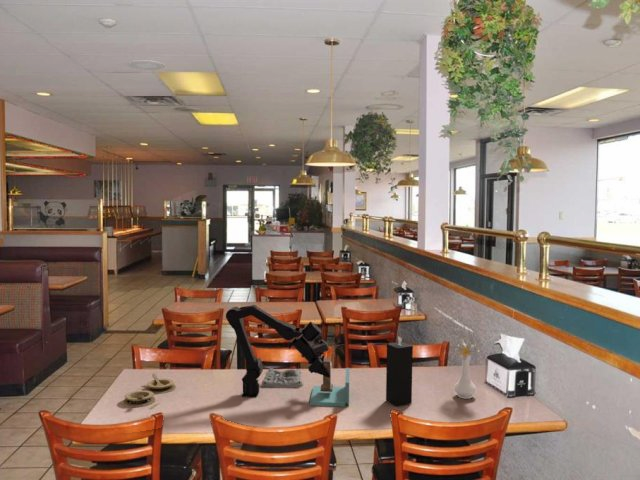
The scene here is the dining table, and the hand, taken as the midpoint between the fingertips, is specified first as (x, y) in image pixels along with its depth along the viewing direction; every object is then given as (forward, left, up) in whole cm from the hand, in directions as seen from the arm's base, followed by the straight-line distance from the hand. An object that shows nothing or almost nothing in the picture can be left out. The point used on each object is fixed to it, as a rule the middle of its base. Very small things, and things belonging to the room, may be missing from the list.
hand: (330, 374), depth 236 cm
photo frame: (-1, 0, -7) cm, 7 cm away
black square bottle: (+29, -3, -10) cm, 31 cm away
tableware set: (-78, -3, -11) cm, 79 cm away
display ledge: (0, 0, -10) cm, 10 cm away
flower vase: (+58, +7, -10) cm, 59 cm away
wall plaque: (-23, +22, -11) cm, 34 cm away
